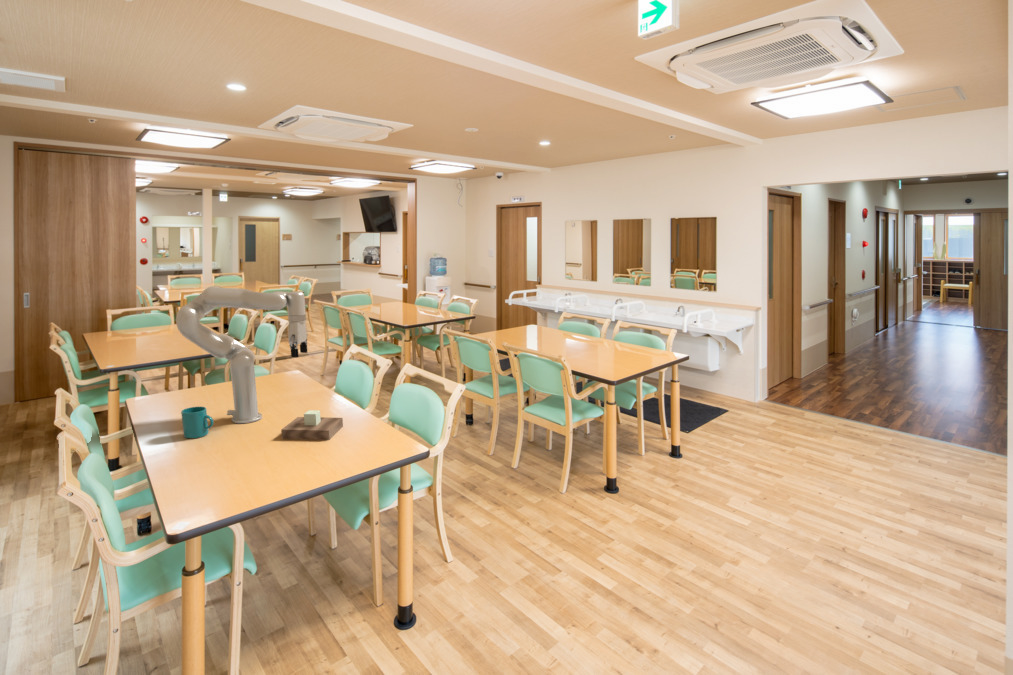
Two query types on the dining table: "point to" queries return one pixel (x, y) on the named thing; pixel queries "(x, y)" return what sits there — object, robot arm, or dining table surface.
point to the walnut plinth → (312, 429)
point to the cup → (195, 422)
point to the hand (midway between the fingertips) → (299, 354)
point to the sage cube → (312, 417)
